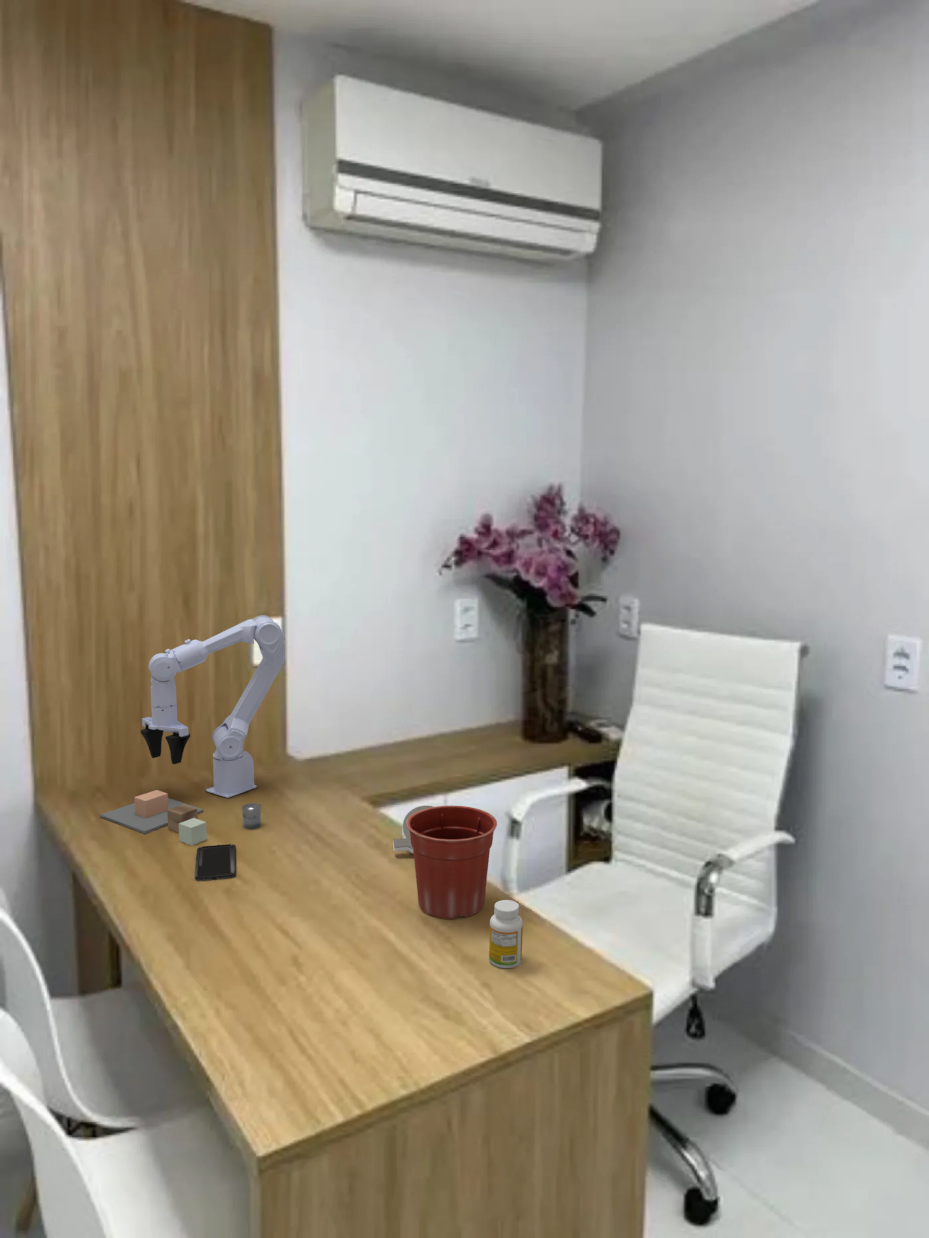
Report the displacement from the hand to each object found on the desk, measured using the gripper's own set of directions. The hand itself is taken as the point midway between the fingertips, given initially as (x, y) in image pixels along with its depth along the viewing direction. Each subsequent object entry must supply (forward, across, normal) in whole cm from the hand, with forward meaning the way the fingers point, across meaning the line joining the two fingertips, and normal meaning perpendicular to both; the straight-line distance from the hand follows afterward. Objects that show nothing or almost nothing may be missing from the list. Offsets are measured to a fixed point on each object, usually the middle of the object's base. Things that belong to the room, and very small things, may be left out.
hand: (166, 760), depth 223 cm
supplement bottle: (+10, +105, -15) cm, 106 cm away
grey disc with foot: (+10, +68, +13) cm, 70 cm away
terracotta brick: (+9, +6, -9) cm, 14 cm away
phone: (+10, +38, -18) cm, 43 cm away
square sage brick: (+10, +25, -13) cm, 30 cm away
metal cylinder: (+10, +29, 0) cm, 31 cm away
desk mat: (+9, +6, -9) cm, 14 cm away
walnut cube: (+10, +18, -10) cm, 23 cm away
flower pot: (+10, +86, -4) cm, 87 cm away
